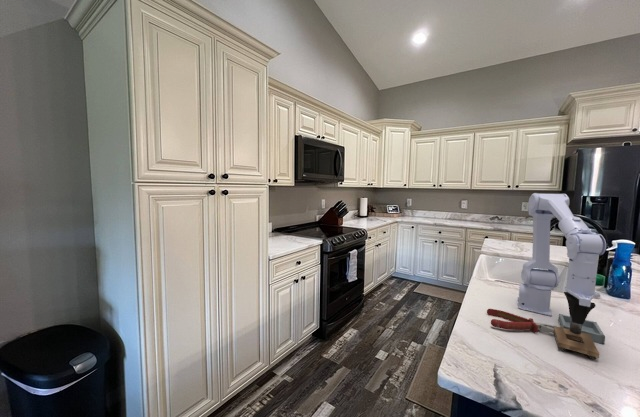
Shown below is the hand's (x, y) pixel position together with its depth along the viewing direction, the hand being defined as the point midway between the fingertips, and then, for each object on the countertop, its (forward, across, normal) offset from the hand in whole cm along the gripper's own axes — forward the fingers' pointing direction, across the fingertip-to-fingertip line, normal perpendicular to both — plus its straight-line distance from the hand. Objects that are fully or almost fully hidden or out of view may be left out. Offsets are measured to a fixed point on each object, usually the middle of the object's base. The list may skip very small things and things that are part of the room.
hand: (576, 320), depth 74 cm
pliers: (+8, +2, +12) cm, 14 cm away
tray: (+8, +12, -3) cm, 15 cm away
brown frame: (+8, 0, 0) cm, 8 cm away
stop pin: (+3, 0, 0) cm, 3 cm away
